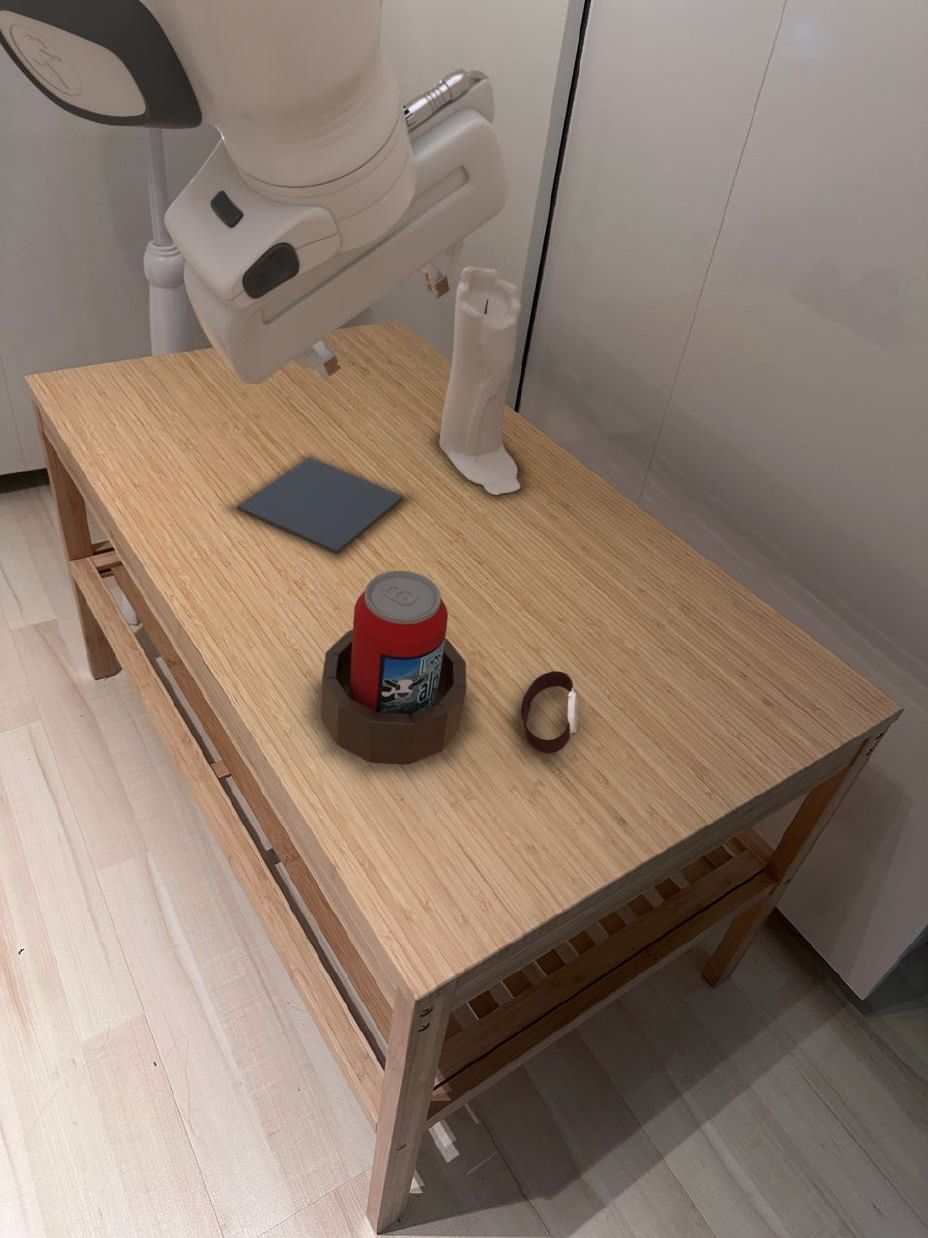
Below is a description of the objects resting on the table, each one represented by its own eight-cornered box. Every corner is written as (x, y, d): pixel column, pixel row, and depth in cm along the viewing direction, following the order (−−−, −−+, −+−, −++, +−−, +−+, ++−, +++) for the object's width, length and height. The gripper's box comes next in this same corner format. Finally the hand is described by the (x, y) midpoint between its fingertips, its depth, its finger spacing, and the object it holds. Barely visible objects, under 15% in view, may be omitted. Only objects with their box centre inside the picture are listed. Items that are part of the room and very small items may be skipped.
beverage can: (402, 756, 65) (415, 640, 57) (331, 714, 67) (334, 597, 59) (450, 704, 70) (468, 590, 62) (382, 667, 72) (392, 552, 64)
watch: (572, 765, 66) (582, 734, 64) (512, 752, 67) (520, 721, 64) (579, 695, 72) (588, 664, 70) (524, 683, 72) (531, 652, 70)
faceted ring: (294, 722, 66) (294, 681, 63) (371, 644, 74) (374, 604, 71) (414, 786, 63) (420, 746, 60) (482, 697, 71) (490, 658, 68)
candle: (478, 498, 93) (507, 316, 80) (429, 434, 102) (448, 261, 89) (537, 489, 95) (574, 312, 82) (484, 428, 105) (510, 259, 92)
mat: (237, 509, 86) (237, 505, 86) (309, 460, 94) (309, 456, 94) (337, 554, 83) (337, 550, 82) (402, 499, 91) (403, 495, 91)
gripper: (451, 19, 46) (478, 211, 59) (136, 235, 44) (235, 384, 58) (524, 84, 44) (535, 268, 57) (197, 312, 42) (286, 448, 56)
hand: (383, 327), depth 57 cm, fingers open, 8 cm apart
